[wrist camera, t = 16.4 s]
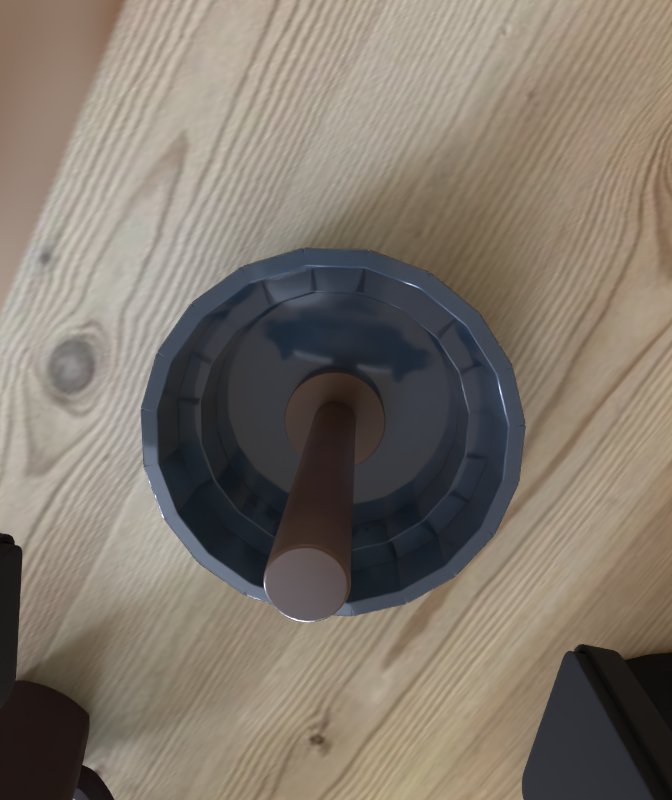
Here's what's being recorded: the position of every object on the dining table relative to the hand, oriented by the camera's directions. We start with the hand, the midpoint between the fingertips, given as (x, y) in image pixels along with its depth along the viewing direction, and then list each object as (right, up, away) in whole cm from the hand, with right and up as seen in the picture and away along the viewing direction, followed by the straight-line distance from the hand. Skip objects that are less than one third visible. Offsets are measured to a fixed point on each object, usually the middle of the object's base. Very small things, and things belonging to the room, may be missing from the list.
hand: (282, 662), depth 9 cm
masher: (+1, +4, +18) cm, 18 cm away
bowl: (+1, +4, +19) cm, 19 cm away
